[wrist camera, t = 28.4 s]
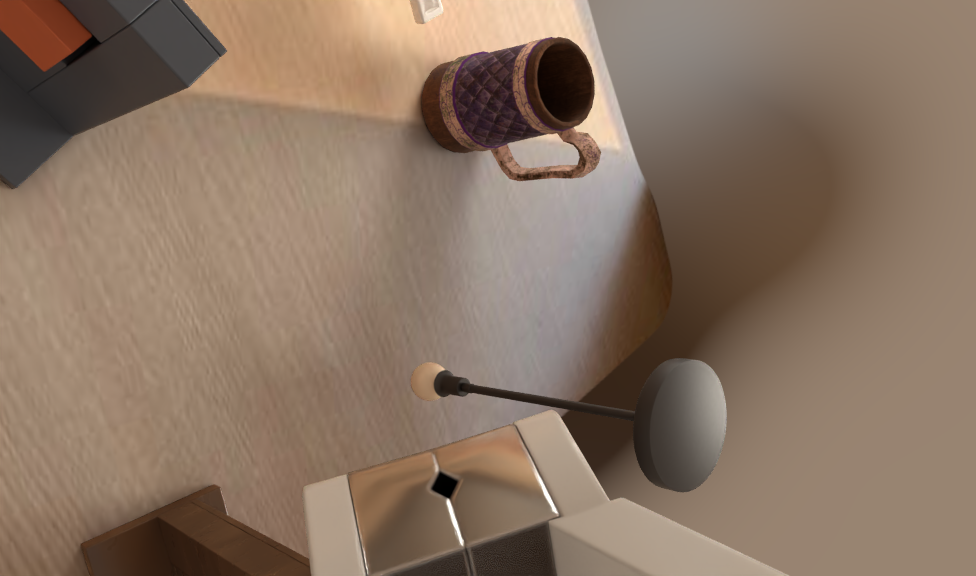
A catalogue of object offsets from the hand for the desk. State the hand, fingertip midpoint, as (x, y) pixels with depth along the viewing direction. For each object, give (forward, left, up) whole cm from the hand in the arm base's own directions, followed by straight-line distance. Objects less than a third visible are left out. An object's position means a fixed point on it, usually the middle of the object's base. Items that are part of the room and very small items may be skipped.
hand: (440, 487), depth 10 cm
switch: (+6, +12, -33) cm, 35 cm away
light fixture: (+27, -12, -42) cm, 51 cm away
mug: (+37, +5, -42) cm, 56 cm away
